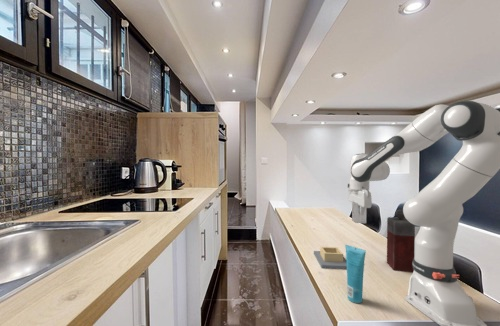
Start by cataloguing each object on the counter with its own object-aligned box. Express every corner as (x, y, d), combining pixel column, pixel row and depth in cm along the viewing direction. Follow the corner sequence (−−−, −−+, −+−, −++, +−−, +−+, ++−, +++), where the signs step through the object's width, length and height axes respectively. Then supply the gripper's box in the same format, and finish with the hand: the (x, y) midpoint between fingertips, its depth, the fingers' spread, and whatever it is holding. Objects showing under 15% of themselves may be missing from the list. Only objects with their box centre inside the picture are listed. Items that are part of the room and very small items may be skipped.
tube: (367, 300, 84) (368, 248, 84) (363, 306, 80) (363, 251, 80) (346, 293, 89) (347, 243, 89) (341, 298, 85) (342, 246, 86)
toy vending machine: (404, 262, 118) (404, 207, 118) (414, 272, 107) (415, 212, 107) (384, 260, 120) (385, 207, 120) (393, 270, 109) (394, 211, 109)
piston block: (366, 223, 113) (366, 202, 113) (355, 223, 113) (356, 202, 113) (362, 220, 118) (362, 201, 118) (351, 220, 118) (352, 201, 118)
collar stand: (351, 269, 109) (351, 257, 109) (321, 268, 110) (321, 256, 110) (339, 254, 127) (339, 244, 127) (313, 253, 128) (313, 243, 128)
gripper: (375, 188, 105) (375, 218, 105) (357, 184, 125) (357, 209, 125) (361, 188, 105) (361, 218, 105) (346, 184, 126) (345, 209, 126)
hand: (359, 213), depth 115 cm, fingers closed on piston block, 5 cm apart
